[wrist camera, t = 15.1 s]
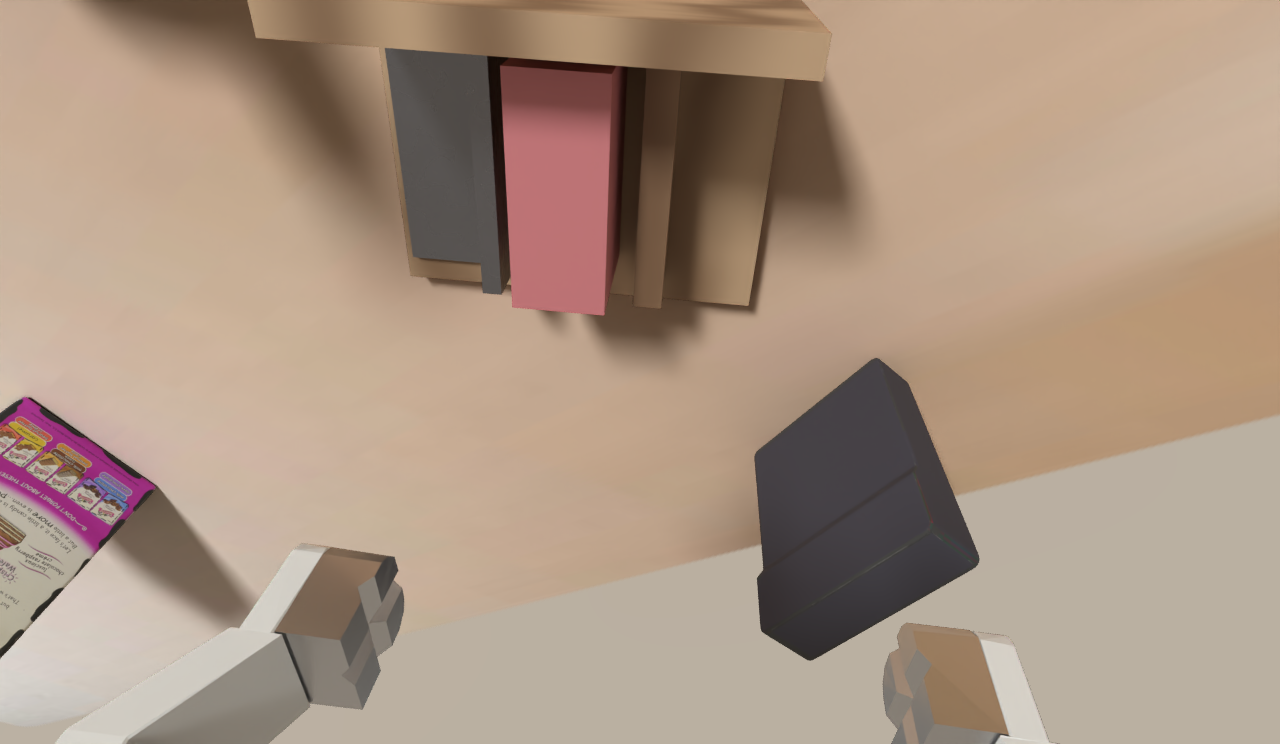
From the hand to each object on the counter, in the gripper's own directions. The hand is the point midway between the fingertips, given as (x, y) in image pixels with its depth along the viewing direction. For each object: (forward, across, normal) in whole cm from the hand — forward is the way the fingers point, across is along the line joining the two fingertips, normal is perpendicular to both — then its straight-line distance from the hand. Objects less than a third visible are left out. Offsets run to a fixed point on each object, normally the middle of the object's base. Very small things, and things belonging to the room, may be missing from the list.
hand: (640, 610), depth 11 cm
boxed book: (+29, +6, +2) cm, 30 cm away
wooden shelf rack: (+31, +7, +2) cm, 31 cm away
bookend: (+29, +13, +2) cm, 32 cm away
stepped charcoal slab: (+31, -10, +19) cm, 38 cm away
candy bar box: (+29, +46, +29) cm, 61 cm away
